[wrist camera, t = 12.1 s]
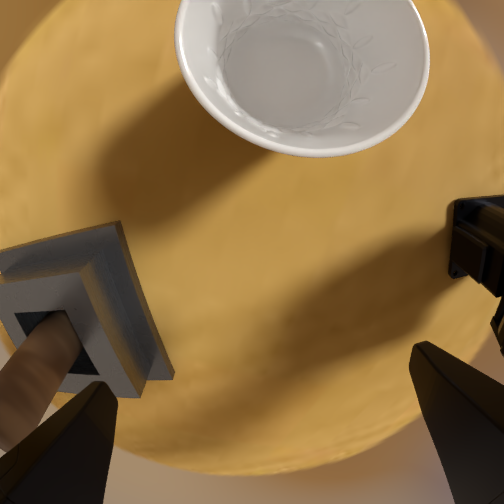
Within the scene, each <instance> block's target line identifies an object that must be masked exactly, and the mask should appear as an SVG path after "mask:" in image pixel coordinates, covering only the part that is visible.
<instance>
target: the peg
mask: <svg viewBox="0 0 504 504" xmlns="http://www.w3.org/2000/svg"><path fill="white" fill-rule="evenodd" d="M83 348H84V346H83V344H82V342H81V341H80V339H79V337H78V335H77V333H76V331H75V329H74V327H73V325H72V323H71V321H70V319H69V317H68V315H67V313H66V310H55V311H49V312H48V314H47V315H46V316H45V317H44V318H43V319H42V320H41V321H40V323H39V324H38V325H37V326H36V327H35V328H34V330H33V331H32V332H31V333H30V334H29V336H28V337H27V338H26V339H25V340H24V342H23V343H22V344H21V345H20V347H19V348H18V349H17V350H16V351H15V353H14V354H13V355H12V357H11V358H10V359H9V360H8V362H7V363H6V364H5V366H4V367H3V368H2V370H1V371H0V449H2V450H3V451H5V452H8V451H9V450H11V449H12V448H13V447H14V446H16V445H17V444H18V443H20V441H22V440H23V439H24V438H25V437H26V436H28V435H29V434H30V433H31V432H32V431H34V430H35V429H36V428H37V426H38V424H39V423H40V421H41V419H42V417H43V415H44V413H45V412H46V410H47V408H48V406H49V404H50V403H51V401H52V399H53V397H54V395H55V394H56V392H57V390H58V389H59V387H60V385H61V383H62V382H63V380H64V378H65V377H66V375H67V373H68V372H69V370H70V368H71V367H72V365H73V364H74V362H75V360H76V359H77V357H78V356H79V354H80V352H81V351H82V349H83Z"/></svg>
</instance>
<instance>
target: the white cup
mask: <svg viewBox="0 0 504 504" xmlns="http://www.w3.org/2000/svg"><path fill="white" fill-rule="evenodd" d="M174 43H175V51H176V56H177V61H178V64H179V67H180V70H181V73H182V75H183V77H184V79H185V81H186V83H187V85H188V87H189V89H190V90H191V92H192V93H193V95H194V96H195V98H196V99H197V100H198V102H199V103H200V104H201V105H202V106H203V108H204V109H205V110H206V111H207V112H208V113H209V114H210V115H211V116H212V117H213V118H215V119H216V120H217V121H218V122H219V123H220V124H222V125H223V126H224V127H226V128H227V129H228V130H230V131H231V132H233V133H235V134H236V135H238V136H240V137H241V138H243V139H245V140H247V141H249V142H251V143H253V144H255V145H258V146H260V147H263V148H266V149H269V150H272V151H275V152H279V153H283V154H287V155H292V156H299V157H309V158H327V157H337V156H343V155H348V154H352V153H356V152H359V151H362V150H365V149H368V148H370V147H372V146H374V145H376V144H378V143H380V142H382V141H384V140H385V139H387V138H388V137H390V136H391V135H392V134H394V133H395V132H396V131H397V130H399V129H400V128H401V127H402V126H403V125H404V124H405V123H406V122H407V120H408V119H409V118H410V117H411V116H412V114H413V113H414V111H415V110H416V108H417V106H418V105H419V103H420V101H421V99H422V96H423V94H424V91H425V88H426V85H427V81H428V76H429V68H430V52H429V44H428V38H427V34H426V31H425V27H424V25H423V22H422V19H421V17H420V15H419V13H418V11H417V9H416V7H415V5H414V4H413V2H412V0H181V3H180V5H179V8H178V12H177V16H176V21H175V29H174Z"/></svg>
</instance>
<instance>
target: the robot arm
mask: <svg viewBox="0 0 504 504" xmlns="http://www.w3.org/2000/svg"><path fill="white" fill-rule="evenodd" d="M460 204H462V206H461V208H460ZM454 271H455V272H454ZM453 272H454V273H453ZM448 274H449V276H450V277H451V278H453V279H455V278H459V277H463V276H467V275H469V276H470V277H471V278H472V279H474V280H475V281H476V282H477V283H478V284H480V283H481V284H482V285H483V286H484V287H485V288H486V289H487V290H488V291H490V292H491V293H492V294H493V295H494V296H495V297H496V298H497V297H500V296H501V300H500V303H499V305H498V308H497V310H496V313H495V315H494V316H493V317H492V320H491V322H490V325H491V327H492V329H493V331H494V333H495V336H496V338H497V340H498V343H499V345H500V348H501V349H500V351H501V354H502V356H503V357H504V195H493V196H482V197H471V198H460V199H457V200H456V202H455V205H454V222H453V233H452V244H451V253H450V263H449V271H448ZM409 371H410V375H411V378H412V381H413V384H414V388H415V391H416V394H417V398H418V401H419V405H420V408H421V411H422V414H423V417H424V420H425V422H426V425H427V427H428V430H429V432H430V435H431V437H432V440H433V442H434V445H435V447H436V450H437V452H438V455H439V458H440V460H441V463H442V466H443V468H444V472H445V475H446V477H447V480H448V483H449V486H450V489H451V492H452V495H453V499H454V502H455V504H504V385H502V384H501V383H499V382H497V381H496V380H494V379H492V378H490V377H489V376H487V375H485V374H484V373H482V372H480V371H478V370H477V369H475V368H473V367H472V366H470V365H468V364H467V363H465V362H463V361H461V360H460V359H458V358H456V357H455V356H453V355H451V354H449V353H448V352H446V351H444V350H442V349H441V348H439V347H437V346H436V345H434V344H432V343H430V342H428V341H423V342H419V343H416V344H414V346H413V348H412V353H411V357H410V362H409ZM117 409H118V401H117V398H116V396H115V395H114V393H113V392H112V390H111V389H110V387H109V386H108V384H107V383H106V382H104V381H93V382H91V383H90V384H89V385H88V386H87V387H85V388H84V389H83V390H82V391H81V392H79V393H78V394H77V395H76V396H75V397H73V398H72V399H71V400H70V401H68V402H67V403H66V404H65V405H64V406H62V407H61V408H60V409H59V410H58V411H56V412H55V413H54V414H53V415H52V416H50V417H49V418H48V419H47V420H46V421H45V422H43V423H42V424H41V425H40V426H38V427H37V428H36V429H35V430H34V431H32V432H31V433H30V434H29V435H28V436H26V437H25V438H24V439H23V440H22V441H20V443H18V444H17V445H16V446H14V447H13V448H12V449H11V450H9V451H8V452H7V453H6V454H4V455H3V456H2V457H1V458H0V504H103V499H104V493H105V487H106V481H107V476H108V470H109V465H110V460H111V455H112V450H113V444H114V436H115V426H116V417H117Z"/></svg>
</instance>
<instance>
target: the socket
mask: <svg viewBox="0 0 504 504" xmlns="http://www.w3.org/2000/svg"><path fill="white" fill-rule="evenodd" d="M0 271H1V274H0V319H1V321H2V323H3V325H4V327H5V329H6V331H7V332H8V334H9V336H10V338H11V340H12V341H13V343H14V345H15V347H16V348H17V349H18V348H19V347H20V345H21V344H22V343H23V342H24V340H25V339H26V338H27V337H28V336H29V334H30V333H31V332H32V331H33V330H34V328H35V327H36V326H37V325H38V324H39V323H40V321H41V320H42V319H43V318H44V317H45V316H46V315H47V314H48V312H49V311H55V310H66V313H67V315H68V317H69V319H70V321H71V323H72V325H73V327H74V329H75V331H76V333H77V335H78V337H79V339H80V341H81V342H82V344H83V346H84V348H83V349H82V351H81V352H80V354H79V356H78V357H77V359H76V360H75V362H74V364H73V365H72V367H71V368H70V370H69V372H68V373H67V375H66V377H65V378H64V380H63V382H62V383H61V385H60V387H59V389H58V390H57V391H59V392H67V393H75V394H78V393H79V392H81V391H82V390H83V389H84V388H85V387H87V386H88V385H89V384H90V383H91V382H93V381H104V382H106V383H107V384H108V386H109V387H110V389H111V390H112V392H113V393H114V395H115V396H116V397H121V398H141V395H142V392H143V389H144V387H145V384H146V381H147V380H173V377H174V373H175V371H174V369H173V367H172V364H171V362H170V360H169V357H168V355H167V353H166V350H165V348H164V345H163V343H162V341H161V338H160V336H159V333H158V331H157V328H156V326H155V323H154V320H153V318H152V315H151V313H150V310H149V307H148V305H147V302H146V299H145V296H144V294H143V291H142V288H141V285H140V282H139V279H138V276H137V273H136V270H135V267H134V264H133V261H132V258H131V255H130V252H129V248H128V245H127V242H126V239H125V235H124V232H123V228H122V225H121V221H115V222H110V223H106V224H101V225H97V226H93V227H88V228H84V229H80V230H76V231H71V232H67V233H63V234H59V235H55V236H51V237H47V238H43V239H39V240H36V241H32V242H28V243H24V244H21V245H17V246H13V247H10V248H6V249H3V250H0Z"/></svg>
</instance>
